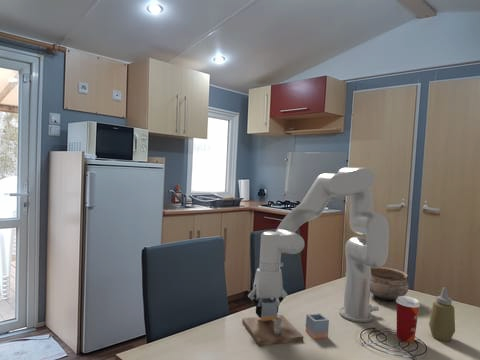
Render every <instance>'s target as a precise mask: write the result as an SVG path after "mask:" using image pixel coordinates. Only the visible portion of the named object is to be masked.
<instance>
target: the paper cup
mask: <svg viewBox="0 0 480 360" xmlns="http://www.w3.org/2000/svg"><path fill="white" fill-rule="evenodd" d="M395 302H396V338H397V339H398V340H399V341H401V342H404V343H411V344H412V343H414V342H415V339H416V330H417V326H418V325H417V324H418V319H419V312H420V311H419V309H420V307H421V304H420V301H419V300H418V299H417V298H414V297H412V296H409V295H408V296H407V295H404V296H398V298H397V299H395Z"/></svg>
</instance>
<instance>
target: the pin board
mask: <svg viewBox="0 0 480 360" xmlns="http://www.w3.org/2000/svg"><path fill="white" fill-rule="evenodd" d="M241 322H242V324H243V325H244V328H246V330H247V331H248V333H249V334H250V336H251V337H252V338H253V339H252V340H254V341H255V343H256V344H257V345H258V346H267V345H277V344H285V343H296V342H304V335H303V334H302V333H301V332H300V331H299V329H297V328H296V327H295V326H294V325H293V324H292V323H291V322H290V321H289V320H288V319H287V318H286V317H285V316H284V315H283V314H279V315H278V314H277V318H275V320H265V321H262V320H261V319H260V318H259V317H258V316H257V317H256V316H255V317H253V316H252V317H242V321H241Z"/></svg>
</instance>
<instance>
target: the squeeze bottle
mask: <svg viewBox="0 0 480 360" xmlns="http://www.w3.org/2000/svg"><path fill="white" fill-rule="evenodd" d="M455 315H456V314H455V307H454V306H453V303H452V298H451V297H449V293H448V288H447V287H442V289H441V293H440V295H437V296H436V300H435V301H434V302H433V303H432V308H431V312H430V319H429V322H428V326H429V329H430V332H431V333H430V334H431V335H432V337H433V338H435V339H436V340H439V341H442V342H450V341H451V340H452V338H453V336H454V334H455V332H456V322H455V321H456V318H455V317H456V316H455Z"/></svg>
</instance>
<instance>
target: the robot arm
mask: <svg viewBox="0 0 480 360" xmlns="http://www.w3.org/2000/svg"><path fill="white" fill-rule="evenodd" d="M375 184H376V174H375V172H374V171H373V170H372V169H371V168H369V167H364V166H363V167H359V166H358V167H357V166H347V167H345V166H344V167H342V168H340V169H339V170H338V171H337V173H334V172H333V173H332V172H325V173H321V174H319V175H318V176H317V177H316V179H315V180H314V181H313V183H312V185H311V187H310V188H309V190H308V191H307V193H306V194H305V196H304V197H303V199H302V200H301V202H300V203H299V204H298V205H297V206H296V207H294V208H293V209H292V210H291V211H290V212H289V213H287V215H285V216H284V218H283V219H282V220H281V221H280V223H279V225H278V227H277V228H276V230H275V231H264V232H262V233H261V235H260V249H259V265H258V268H256V271H255V275H254V280H253V285H252V286H253V288H252V290H251V291H250V292H249V293H248V295H247V297H248V298H249V299H250V300H251V301H252V302H253V303H254V304H255V314H256V316H257V317H259V318H261V309H262V307H261V303H262V300H263V299H266V298H273V299H274V300H275V301H276V302H277V303H278V308H277V314H278V313H279V306H281V303H282V302H283V300H284V299H286V297H287V296H288V293H287V291H286V290H285V289H284V288H283V287H284V286H283V285H284V282H283V273H282V269H281V267H284V262H281V257H282V256H281V255H282V254H290V255H295V254H296V255H297V254H299V253H301V252H302V251H303V250H304V248H305V240H304V238H303V236H301V235H300V234H298V233H296V232H297V230H298V229H299V228H300V227H301V226H302V225H304V224H305V223H307V222H309V221H312V220H314V219H317V218H319V217H320V216H322V214H323V212H324V211H325V209H326V207H327V205H328V204H329V202H330V200H331V199H332V197H334V198H335V197H336V198H344V197H348V196H349V201H350V203H349V204H350V205H349V207H350V208H349V228H350V230H352V232H353V233H355V234H358V235H361V236H352V237H351V238H349V239H348V240H347V241H346V243H345V246H344V254H345V262H346V267H345V281H344V282H345V283H344V284H345V285H344V295H343V297H344V300H343V306H342V307H341V308H340V309H339V311H338V312H339V313H338V314H339V315H340V316H341V317H342V318H344V319H346V320H348V321H352V322H355V323H368V322H369V323H370V322H371V321H372V320H373V314H372V313H373V312H379V310H380V308H379V305H373V306H372V304H370V296H371V292H370V284H371V268H370V267H374V268H379V267H383V266H384V265H385V264H386V262H387V260H388V257H389V256H388V255H389V243H390V226H389V222H388V220H387V218H386V217H385V216H384V215H382V214H380V213H377V212H374V199H373V198H374V197H373V193H372V190H371V189H372V188H373V187H374V186H375ZM362 236H365V237H362ZM254 296H256V298H255V297H254Z"/></svg>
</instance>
